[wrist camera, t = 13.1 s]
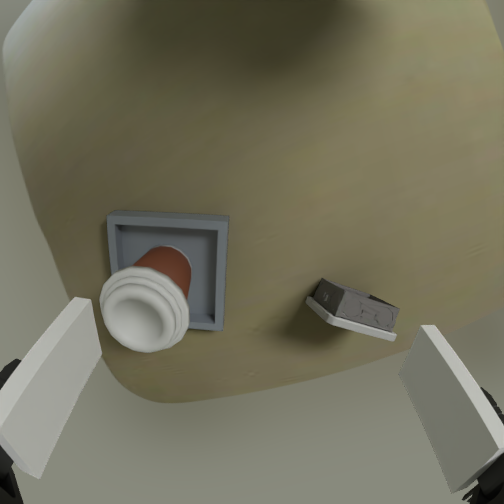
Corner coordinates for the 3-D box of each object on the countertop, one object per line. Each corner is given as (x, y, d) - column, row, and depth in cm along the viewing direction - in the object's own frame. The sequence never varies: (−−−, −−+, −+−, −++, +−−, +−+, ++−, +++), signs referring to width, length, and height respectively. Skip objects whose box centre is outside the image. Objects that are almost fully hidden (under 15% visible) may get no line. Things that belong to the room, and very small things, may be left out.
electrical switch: (302, 300, 39) (320, 337, 30) (319, 264, 38) (342, 293, 29) (362, 318, 41) (389, 354, 32) (378, 285, 39) (411, 316, 31)
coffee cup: (211, 244, 36) (194, 293, 25) (195, 309, 39) (178, 372, 28) (137, 224, 35) (93, 264, 24) (128, 290, 38) (92, 345, 27)
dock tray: (115, 210, 35) (106, 215, 32) (229, 215, 35) (227, 221, 33) (123, 310, 40) (117, 319, 37) (224, 320, 40) (222, 331, 38)
